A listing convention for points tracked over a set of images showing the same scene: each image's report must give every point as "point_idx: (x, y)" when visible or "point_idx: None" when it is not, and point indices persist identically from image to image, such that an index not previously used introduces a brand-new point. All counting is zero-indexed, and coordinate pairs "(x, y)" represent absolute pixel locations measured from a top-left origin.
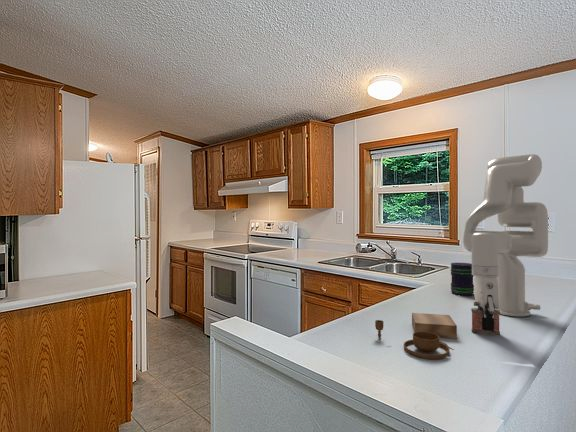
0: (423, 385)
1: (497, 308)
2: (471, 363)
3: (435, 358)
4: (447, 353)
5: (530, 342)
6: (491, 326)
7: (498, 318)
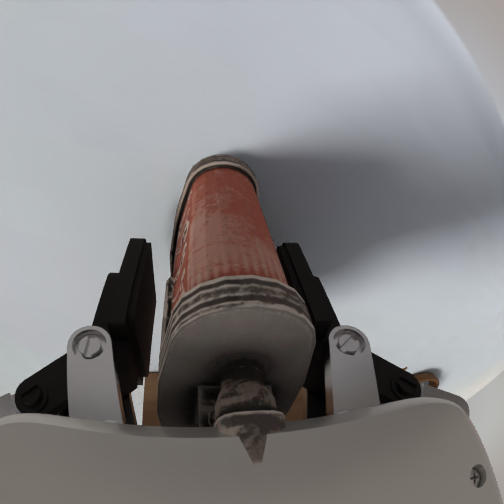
0: (480, 376)
1: (444, 405)
2: (475, 336)
3: (430, 384)
4: (435, 378)
5: (395, 28)
6: (321, 285)
7: (275, 253)
